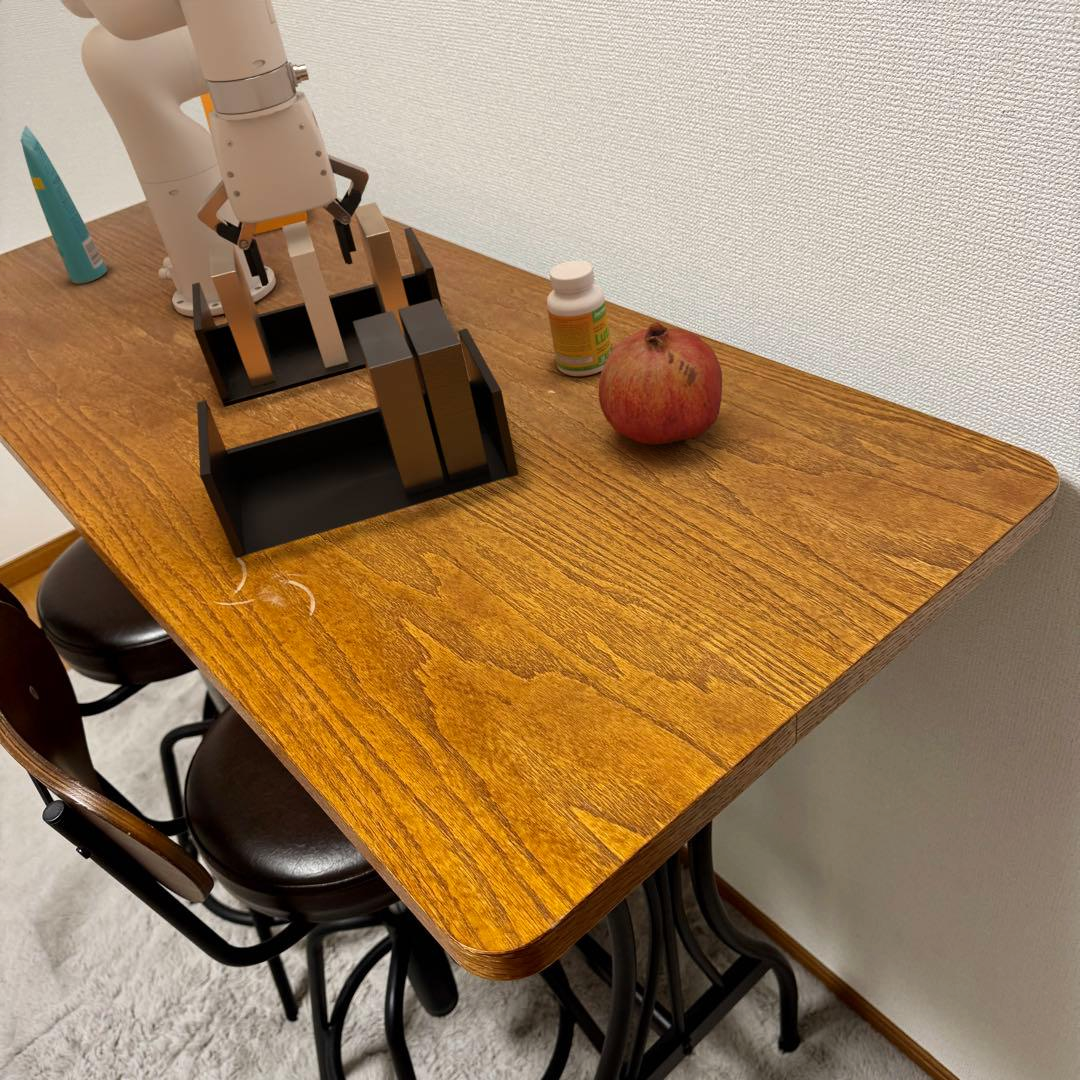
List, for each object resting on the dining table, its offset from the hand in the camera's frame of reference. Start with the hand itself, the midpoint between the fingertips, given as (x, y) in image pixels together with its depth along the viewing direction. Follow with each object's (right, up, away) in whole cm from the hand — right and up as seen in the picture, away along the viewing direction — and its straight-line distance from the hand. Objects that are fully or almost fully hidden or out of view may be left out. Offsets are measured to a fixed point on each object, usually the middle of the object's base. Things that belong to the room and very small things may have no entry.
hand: (306, 269), depth 105 cm
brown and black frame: (+2, -8, +5) cm, 10 cm away
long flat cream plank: (+2, -7, +5) cm, 9 cm away
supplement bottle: (+28, -10, -5) cm, 30 cm away
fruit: (+34, -18, -16) cm, 42 cm away
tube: (-37, +8, +35) cm, 52 cm away
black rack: (+9, -23, -16) cm, 29 cm away
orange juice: (-13, +17, +42) cm, 47 cm away
